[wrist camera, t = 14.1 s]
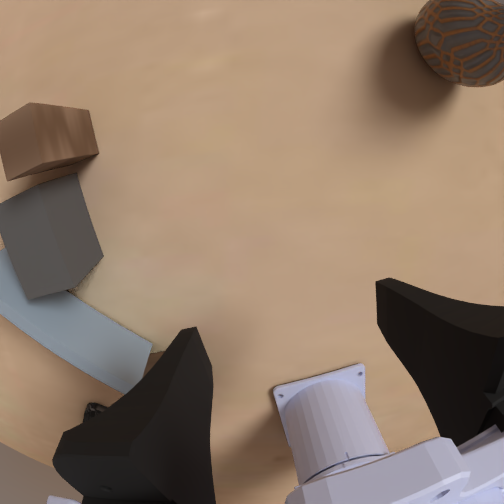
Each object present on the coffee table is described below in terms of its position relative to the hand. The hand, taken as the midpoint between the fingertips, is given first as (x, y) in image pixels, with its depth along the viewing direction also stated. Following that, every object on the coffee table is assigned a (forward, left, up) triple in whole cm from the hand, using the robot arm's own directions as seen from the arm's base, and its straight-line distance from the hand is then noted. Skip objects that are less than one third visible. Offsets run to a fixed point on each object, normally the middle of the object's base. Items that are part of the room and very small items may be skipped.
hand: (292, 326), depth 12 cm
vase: (+12, -16, -10) cm, 22 cm away
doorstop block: (+5, +13, -10) cm, 17 cm away
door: (-1, +15, -9) cm, 18 cm away
